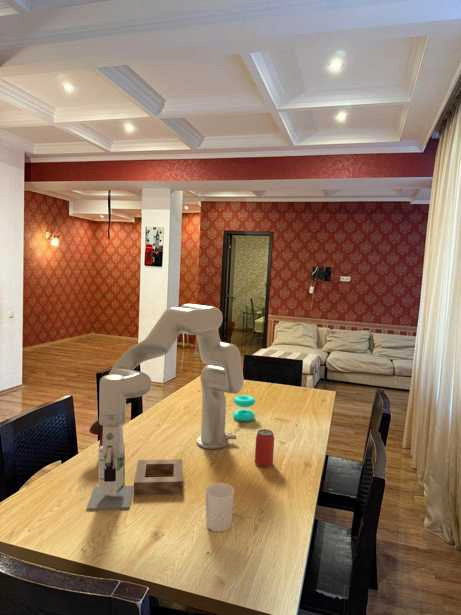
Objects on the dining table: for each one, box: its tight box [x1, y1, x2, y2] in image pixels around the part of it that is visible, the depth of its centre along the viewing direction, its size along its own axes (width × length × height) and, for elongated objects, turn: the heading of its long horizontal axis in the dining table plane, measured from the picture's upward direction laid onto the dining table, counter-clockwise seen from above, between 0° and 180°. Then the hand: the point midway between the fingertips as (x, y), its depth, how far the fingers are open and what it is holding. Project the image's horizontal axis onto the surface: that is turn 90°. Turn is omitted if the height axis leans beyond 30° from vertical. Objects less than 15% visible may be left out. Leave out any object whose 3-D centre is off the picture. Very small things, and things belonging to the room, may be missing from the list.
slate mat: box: [86, 485, 134, 511], centre depth 129 cm, size 12×12×1 cm
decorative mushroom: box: [89, 419, 103, 449], centre depth 154 cm, size 11×11×15 cm
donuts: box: [232, 394, 256, 422], centre depth 200 cm, size 10×10×10 cm
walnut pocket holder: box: [133, 458, 184, 496], centre depth 140 cm, size 15×15×4 cm
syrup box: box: [98, 441, 126, 497], centre depth 128 cm, size 6×6×14 cm
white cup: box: [205, 482, 235, 533], centre depth 118 cm, size 8×8×10 cm
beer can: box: [254, 428, 275, 469], centre depth 155 cm, size 7×7×12 cm
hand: (111, 474), depth 128 cm, fingers closed on syrup box, 7 cm apart
